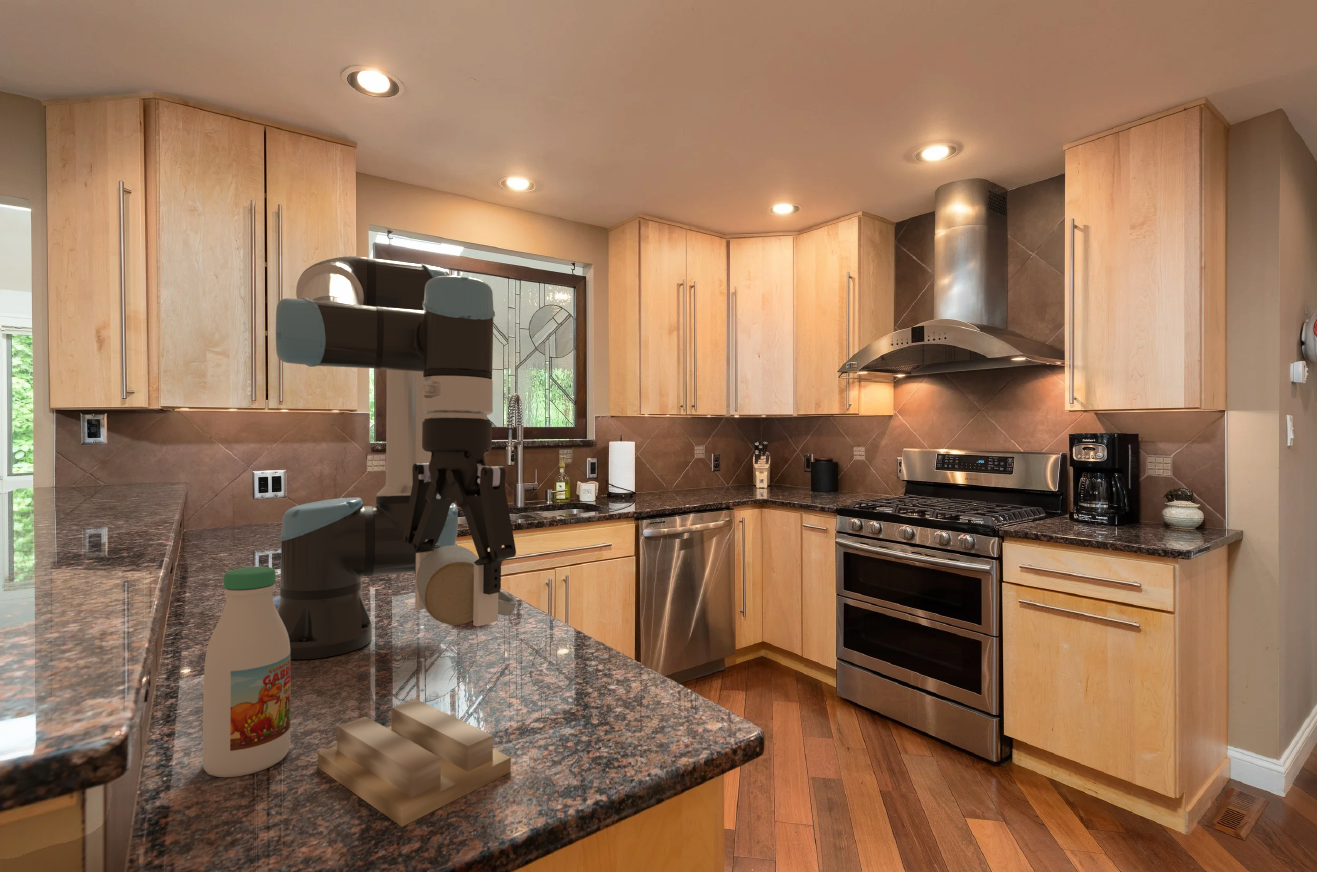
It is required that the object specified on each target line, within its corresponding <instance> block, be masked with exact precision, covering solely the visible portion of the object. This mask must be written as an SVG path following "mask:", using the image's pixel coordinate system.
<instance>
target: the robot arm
mask: <svg viewBox="0 0 1317 872" xmlns="http://www.w3.org/2000/svg"><path fill="white" fill-rule="evenodd" d="M295 293H296V295H295V296H296V298H288V297H287V298H282V299H281V300H279V301H278V303H277V305H276V311H275V312H276V313H275V350H276V355H277V357H278V359H279V361H281V362H283V363H286V364H292V365H293V364H295V365H303V366H307V367H311V368H312V367H313V368H314V367H334V368H335V367H337V368H355V369H357V368H359V369H362V368H363V369H376V370H386V406H385V407H386V418H385V419H386V424H385V425H386V427H385V428H386V430H385V431H386V432H385V433H386V434H385V437H386V438H385V439H386V440H385V441H386V442H385V444H386V446H385V447H386V448H385V451H386V452H385V453H386V455H385V457H386V458H385V468H386V469H385V485H384V486H383V488H381V489H380V490H379V491H378V492H376V496H375V505H364V501H363V500H362V498H361V497H355V496H353V497H340V498H332V499H324V500H319V501H318V500H317V501H313V502H307V503H303V504H299V505H296V506H293V507H290V508H289V509H288V510H286V511H285V512H284V514H283V516H282V519H281V533H280V536H279V542H280V541H281V545H280V546H281V549H280V550H281V551H280V557H281V558H280V581H279V582H280V584H279V585H280V590H279V591H280V592H279V596H280V602H279V605H278V608H277V612H278V614H279V616H280V618H281V619H282V621H283V623H284V625H285V627H286V630H287V633H288V636H289V642H290V657H291V660H313V659H321V658H322V659H323V658H328V657H329V658H330V657H334V656H339V655H342V654H348V653H350V652H353V651H356V650H359V649H361V648H363V647H365V646H367V645H368V644H370V642H371V641H372V639H373V638H372V637H373V635H372V634H373V627H372V625H373V624H372V621H371V619H370V616H369V613H368V609H367V607H366V604H365V601H364V599H363V596H362V586H361V585H362V578H363V577H373V576H385V575H387V576H388V575H397V574H399V575H400V574H412V573H414V575H415V578H416V577H417V572H418V569H419V567H420V565H421V563H422V561H423V560H424V559H425V557H426V556H427V555H428V554H429V553H431V552H432V551H434V550H436V549H438V548H440V547H443V546H449V545H456V543H457V539H458V538H457V537H458V530H459V529H458V528H459V517H458V516H459V515H458V513H459V510H458V508H460V509H462V511H463V513H464V514H463V515H464V517H465V521H466V524H467V526H468V527H467V528H468V529H469V532H470V535H471V538H472V541H473V545H474V547H475V551H476V553H477V554H476V555H477V557H478V558H479V559H478V560H476V562H474V563H475V564H474V604H473V620H472V622H473V624H472V625H473V626H475V627H480V626H484V625H488V624H491V623H495V622H499V614H498V592H500V591H501V589H502V588H501V587H502V579H501V578H502V563H503V561H504V560H507V559H510V558H514V557H516V554H517V548H516V543H515V538H514V537H515V536H514V533H513V532H514V531H513V526H512V520H511V515H510V509H509V504H508V498H507V492H506V476H507V475H506V473H507V472H506V467H505V466H502V465H500V466H499V465H498V466H497V465H496V466H494V465H493V466H487V463H486V460H485V459H486V458H485V453H488V452H490V451H491V450H492V448H493V447H492V446H493V445H492V443H493V423H492V422H491V420H490V419H488V416H490V415H491V414H493V412H494V409H493V407H494V406H493V402H494V401H493V399H494V397H493V396H494V394H493V393H494V392H493V388H494V387H493V386H494V385H493V383H494V382H493V381H494V380H493V361H494V360H493V359H494V357H493V355H494V354H493V353H494V352H493V351H494V348H493V347H494V318H495V317H496V312H495V309H494V295H493V289H492V287H491V286H490V285H489V284H488V283H487V282H485V281H482V280H480V279H478V278H473V277H467V276H461V275H460V276H459V275H458V276H457V275H451V274H450V273H449V272H448V271H447V270H446V269H444V268H441V267H437V266H432V265H428V264H425V263H412V262H404V261H396V260H388V259H379V258H371V257H366V256H355V255H354V256H341V257H340V256H339V257H333V258H329V259H325V260H322V261H319V262H317V263H314V264H312V265H310V266H309V267H308V268H306V269H305V270H304V271H303V272H302V273H301V274H300V276H299V278H298V281H297V282H296V289H295ZM414 590H415V592H414V593H415V596H414V597H415V600H414V605H415V607H414V609H415V610H418V611H421V610H426V609H425V607H424V604H423V602H422V600H421V597H420V595H419V592H418V589H417V584H416V583H415V589H414Z"/></svg>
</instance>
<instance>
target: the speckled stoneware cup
mask: <svg viewBox="0 0 1317 872" xmlns="http://www.w3.org/2000/svg"><path fill="white" fill-rule="evenodd" d="M478 559H479V557H478V555H477V554H476V553H474V552H473V551H472V550H470V549H468V548H466V547H464V546H462V545H457V544H455V545H449V546H443V547H440V548H438V549H436V550H434V551H432V552H431V553H429V554H428V555H427V556H426V557H425V559H424V560H423V561H422V563H421V565H420V567H419V569H418V572H417V577H415V585H416V584H417V589H418V592H419V595H420V597H421V600H422V602H423V604H424V607H425V609H424V610H426V612H427V613H428V614H429V616H431V617H432V618H433V619H435V620H436V621H438V622H440V623H442V624H445V625H449V626H450V625H451V626H454V625H455V626H459V625H460V626H461V625H464V624H467V623H469V622H473V604H474V564H475V563H474V562H476V560H478ZM516 605H517V601H516V600H515V599H514V598H513V597H512V596H510V595H509V594H507V593H505V592H503V591H501V590H500V592H498V615H500V616H507V617H509V616H511V615H512V614H513V613H514V610H515V607H516Z"/></svg>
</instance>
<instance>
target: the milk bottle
mask: <svg viewBox="0 0 1317 872" xmlns="http://www.w3.org/2000/svg"><path fill="white" fill-rule="evenodd" d="M276 575H277V574H276V570H275V568H273V567H270V566H247V567H239V568H234V569H231V570H228V571H226V572H225V573H224V575H223V588H224V591H223V594H224V595H225V596H226V599H225V605H224V608H223V610H222V614H221V616H220V618H219V620H218V622H217V624H216V626H215V628H214V630H213V632H212V634H211V636H210V638H209V640H208V644H207V648H206V651H205V652H206V653H205V657H204V670H203V671H204V673H203V700H202V701H203V703H202V704H203V705H202V706H203V709H202V710H203V712H202V768H203V769H204V771H205V773H207V774H208V775H209V776H211V777H215V778H216V777H218V778H235V777H243V776H246V775H251V774H255V773H258V772H261V771H264V770H266V769H268V768H270V767H273V766H274V765H276V764H279V762H281V761H282V760H283V759H284V758H285V757H286V756H287V753H288V752H289V749H290V743H291V742H290V741H291V696H292V695H291V691H292V690H291V686H292V685H291V684H292V683H291V679H292V678H291V677H292V675H291V674H292V673H291V671H292V670H291V668H292V667H291V665H292V664H291V661H292V659H291V657H290V642H289V636H288V633H287V630H286V627H285V625H284V623H283V621H282V619H281V618H280V616H279V614H278V612H277V609H276V607H275V603H274V600H273V597H274V596H273V592H274V590H275V589H276Z"/></svg>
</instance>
